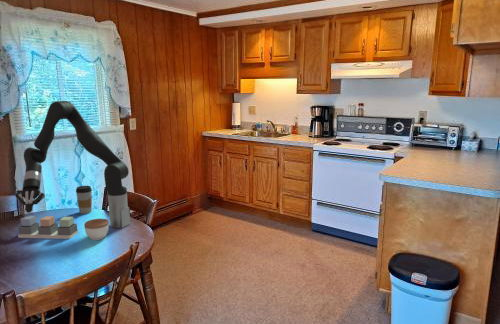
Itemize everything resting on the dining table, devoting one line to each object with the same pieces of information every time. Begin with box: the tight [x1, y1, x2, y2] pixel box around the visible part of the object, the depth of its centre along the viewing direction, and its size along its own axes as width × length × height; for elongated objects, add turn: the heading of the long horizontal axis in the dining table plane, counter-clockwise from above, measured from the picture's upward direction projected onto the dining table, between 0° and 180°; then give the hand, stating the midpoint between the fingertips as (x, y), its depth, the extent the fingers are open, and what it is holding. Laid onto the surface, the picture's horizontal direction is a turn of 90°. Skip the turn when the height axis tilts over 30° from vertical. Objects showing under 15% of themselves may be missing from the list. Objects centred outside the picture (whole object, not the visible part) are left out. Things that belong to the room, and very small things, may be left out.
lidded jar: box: [84, 218, 110, 241], centre depth 169 cm, size 11×11×9 cm
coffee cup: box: [75, 185, 93, 215], centre depth 204 cm, size 8×8×15 cm
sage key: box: [59, 216, 75, 227], centre depth 171 cm, size 4×4×4 cm
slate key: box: [20, 215, 37, 226], centre depth 172 cm, size 4×4×4 cm
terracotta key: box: [39, 215, 56, 227], centre depth 171 cm, size 4×4×4 cm
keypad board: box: [17, 222, 79, 240], centre depth 172 cm, size 25×8×5 cm, turn 88°
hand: (28, 211), depth 173 cm, fingers closed
